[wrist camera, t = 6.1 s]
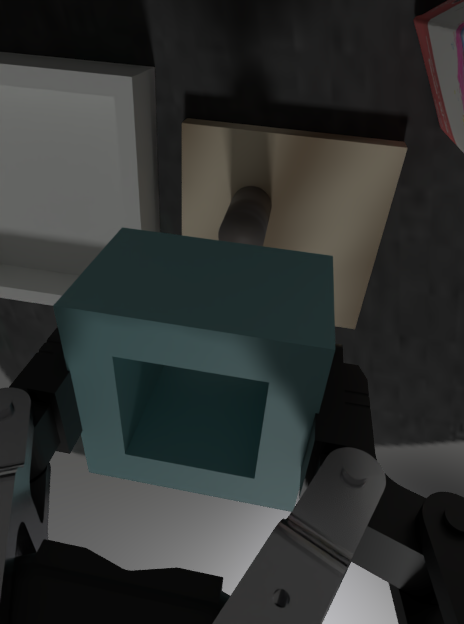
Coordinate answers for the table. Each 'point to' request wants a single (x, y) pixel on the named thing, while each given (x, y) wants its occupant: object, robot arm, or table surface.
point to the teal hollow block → (200, 362)
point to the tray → (71, 167)
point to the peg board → (292, 195)
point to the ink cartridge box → (445, 63)
